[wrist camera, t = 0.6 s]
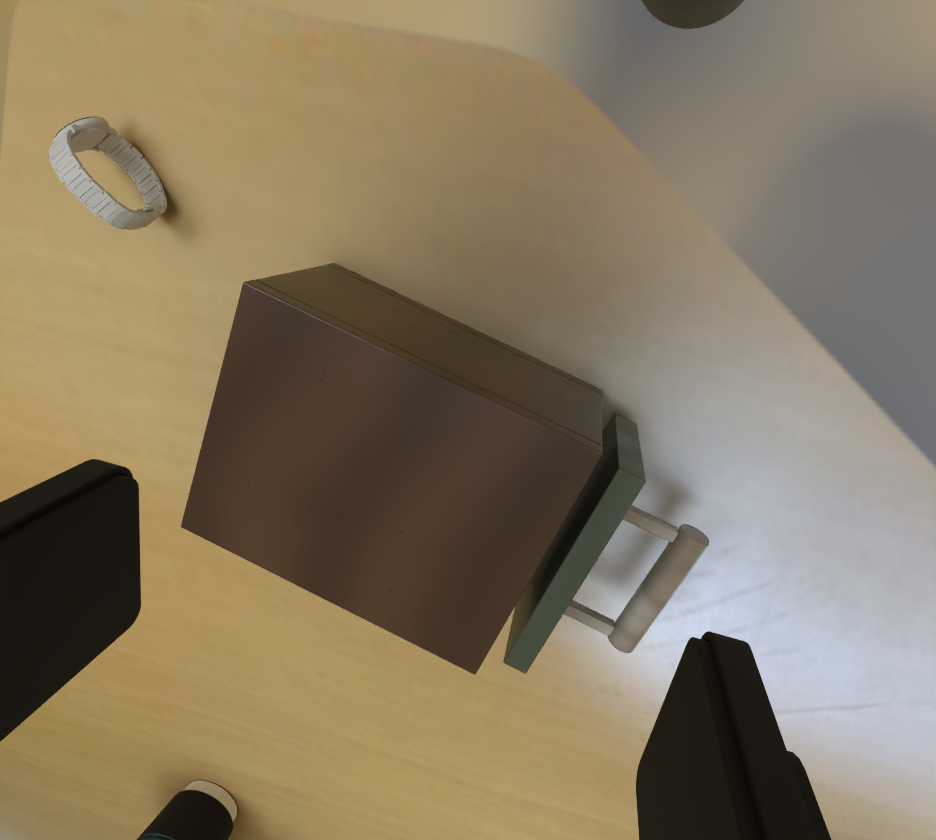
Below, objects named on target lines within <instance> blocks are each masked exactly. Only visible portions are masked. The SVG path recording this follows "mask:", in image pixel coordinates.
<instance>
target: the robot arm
mask: <svg viewBox="0 0 936 840" xmlns="http://www.w3.org/2000/svg"><path fill="white" fill-rule="evenodd" d="M140 607H141V587H140V534H139V488H138V483H137V481H136V480H135V479H133V476H132V473H131V472H130V470H129V469H127V468H126V467H122V466H119V465H115V464H112V463H108V462H105V461H101V460H96V459H91V460H88V461H85V462H83V463H81V464H79V465H77V466H75V467H73V468H71V469H69V470H67V471H65V472H63V473H61V474H58V475H56V476H54V477H52V478H50V479H48V480H46V481H44V482H42V483H40V484H38V485H36V486H34V487H31V488H29V489H27V490H25V491H23V492H21V493H19V494H17V495H15V496H13V497H11V498H9V499H7V500H4V501H2V502H0V741H2V740H3V739H4V738H5V737H6V736H7V735H8V734H9V733H11V732H12V731H13V730H14V729H15V728H16V727H17V726H19V725H20V724H21V723H22V722H23V721H24V720H25V719H26V718H28V717H29V716H30V715H31V714H32V713H33V712H34V711H36V710H37V709H38V708H39V707H40V706H41V705H42V704H43V703H45V702H46V701H47V700H48V699H49V698H50V697H51V696H53V695H54V694H55V693H56V692H57V691H58V690H59V689H61V688H62V687H63V686H64V685H65V684H66V683H67V682H68V681H70V680H71V679H72V678H73V677H74V676H75V675H76V674H78V673H79V672H80V671H81V670H82V669H83V668H84V667H85V666H87V665H88V664H89V663H90V662H91V661H92V660H93V659H95V658H96V657H97V656H98V655H99V654H100V653H101V652H102V651H104V650H105V649H106V648H107V647H108V646H109V645H110V644H112V643H113V642H114V641H115V640H116V639H117V638H118V637H119V636H121V635H122V634H123V633H124V632H125V631H126V630H127V629H129V628H130V626H131V625H132V624H133V623H134V622H135V620H136V618H137V616H138V614H139V611H140ZM636 796H637V811H638V826H639V840H831V838H830V835H829V832H828V830H827V827H826V824H825V822H824V819H823V816H822V814H821V811H820V808H819V806H818V803H817V800H816V798H815V795H814V792H813V790H812V787H811V784H810V781H809V779H808V776H807V773H806V771H805V769H804V767H803V765H802V763H801V761H800V759H799V758H798V757H797V756H796V755H795V754H794V753H793V752H790V751H787V750H786V747H785V744H784V741H783V739H782V736H781V733H780V730H779V727H778V724H777V722H776V719H775V716H774V713H773V710H772V707H771V705H770V702H769V699H768V696H767V693H766V690H765V687H764V685H763V682H762V679H761V676H760V673H759V670H758V668H757V665H756V662H755V659H754V656H753V653H752V651H751V648H750V646H749V644H748V643H746V642H745V641H741V640H737V639H734V638H730V637H727V636H723V635H720V634H716V633H713V632H706V633H705V634H704V635H703V636H702V638H701V639H698V638H694V637H692V638H690V639H689V641H688V643H687V645H686V647H685V650H684V652H683V655H682V657H681V660H680V662H679V665H678V667H677V670H676V672H675V675H674V677H673V680H672V682H671V685H670V687H669V690H668V692H667V695H666V697H665V700H664V702H663V705H662V707H661V710H660V712H659V715H658V717H657V720H656V722H655V725H654V727H653V730H652V732H651V735H650V737H649V740H648V742H647V745H646V747H645V750H644V752H643V755H642V757H641V760H640V763H639V766H638V771H637V778H636Z"/></svg>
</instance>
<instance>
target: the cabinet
mask: <svg viewBox="0 0 936 840" xmlns="http://www.w3.org/2000/svg"><path fill="white" fill-rule="evenodd" d="M602 454H603V449H602V390H601V389H599V388H597V387H595V386H592V385H590V384H588V383H586V382H584V381H582V380H580V379H578V378H576V377H573V376H571V375H569V374H567V373H565V372H563V371H561V370H559V369H557V368H554V367H552V366H550V365H548V364H546V363H544V362H542V361H540V360H538V359H535V358H533V357H531V356H529V355H527V354H525V353H523V352H521V351H519V350H516V349H514V348H512V347H510V346H508V345H506V344H504V343H502V342H499V341H497V340H495V339H493V338H491V337H489V336H487V335H485V334H483V333H480V332H478V331H476V330H474V329H472V328H470V327H468V326H466V325H464V324H461V323H459V322H457V321H455V320H453V319H451V318H449V317H447V316H445V315H442V314H440V313H438V312H436V311H434V310H432V309H430V308H428V307H426V306H423V305H421V304H419V303H417V302H415V301H413V300H411V299H409V298H406V297H404V296H402V295H400V294H398V293H396V292H394V291H392V290H390V289H387V288H385V287H383V286H381V285H379V284H377V283H375V282H373V281H371V280H368V279H366V278H364V277H362V276H360V275H358V274H356V273H354V272H352V271H349V270H347V269H345V268H343V267H341V266H339V265H337V264H335V263H331V264H327V265H323V266H319V267H314V268H309V269H304V270H300V271H295V272H290V273H285V274H281V275H276V276H271V277H266V278H262V279H257V280H251V281H246V282H244V283H243V286H242V290H241V294H240V298H239V301H238V305H237V309H236V313H235V317H234V321H233V325H232V329H231V333H230V337H229V340H228V344H227V348H226V352H225V356H224V360H223V364H222V368H221V372H220V376H219V380H218V383H217V387H216V391H215V395H214V399H213V403H212V407H211V411H210V415H209V419H208V422H207V426H206V430H205V434H204V438H203V442H202V446H201V450H200V454H199V458H198V462H197V465H196V469H195V473H194V477H193V481H192V485H191V489H190V493H189V497H188V501H187V505H186V508H185V512H184V516H183V520H182V524H181V527H182V528H184V529H186V530H188V531H190V532H192V533H194V534H196V535H198V536H200V537H202V538H204V539H206V540H208V541H210V542H212V543H214V544H216V545H218V546H220V547H222V548H224V549H226V550H228V551H230V552H232V553H234V554H236V555H238V556H240V557H242V558H244V559H246V560H248V561H250V562H252V563H254V564H256V565H258V566H260V567H262V568H264V569H266V570H268V571H270V572H272V573H274V574H276V575H278V576H280V577H282V578H283V579H285V580H287V581H289V582H291V583H293V584H295V585H297V586H299V587H301V588H303V589H305V590H307V591H309V592H311V593H313V594H315V595H317V596H319V597H321V598H323V599H325V600H327V601H329V602H331V603H333V604H335V605H337V606H339V607H341V608H343V609H345V610H347V611H349V612H351V613H353V614H355V615H357V616H359V617H361V618H363V619H365V620H367V621H369V622H371V623H373V624H375V625H377V626H379V627H381V628H383V629H385V630H387V631H389V632H391V633H393V634H395V635H397V636H399V637H401V638H403V639H405V640H407V641H409V642H411V643H413V644H415V645H417V646H419V647H421V648H423V649H425V650H427V651H429V652H431V653H433V654H435V655H437V656H439V657H441V658H443V659H445V660H447V661H449V662H450V663H452V664H454V665H456V666H458V667H460V668H462V669H464V670H466V671H468V672H470V673H472V674H476V673H477V671H478V669H479V668H480V666H481V664H482V662H483V661H484V659H485V657H486V655H487V654H488V652H489V650H490V648H491V647H492V645H493V643H494V642H495V640H496V638H497V636H498V635H499V633H500V631H501V629H502V628H503V626H504V624H505V623H506V621H507V619H508V617H509V616H510V614H511V612H512V610H513V609H514V607H515V605H516V603H517V602H518V600H519V598H520V597H521V595H522V593H523V591H524V590H525V588H526V586H527V584H528V583H529V581H530V579H531V577H532V576H533V574H534V572H535V571H536V569H537V567H538V565H539V564H540V562H541V560H542V558H543V557H544V555H545V553H546V551H547V550H548V548H549V546H550V545H551V543H552V541H553V539H554V538H555V536H556V534H557V532H558V531H559V529H560V527H561V525H562V524H563V522H564V520H565V519H566V517H567V515H568V513H569V512H570V510H571V508H572V506H573V505H574V503H575V501H576V499H577V498H578V496H579V494H580V493H581V491H582V489H583V487H584V486H585V484H586V482H587V480H588V479H589V477H590V475H591V473H592V472H593V470H594V468H595V467H596V465H597V463H598V461H599V460H600V458H601V456H602Z"/></svg>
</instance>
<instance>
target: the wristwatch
mask: <svg viewBox="0 0 936 840" xmlns="http://www.w3.org/2000/svg"><path fill="white" fill-rule="evenodd" d="M131 147H132V145H131V144H130V143H129V142H128V141H126V140H125V139H124V138H122V137H120V136H119V135H118V133H117V132H116V130H115V129H113V128H111V127H109V124H108V122H107V121H106V120H105V119H104V118H100V117H86V118H82V119H79V120H76V121H74V122H72V123H70V124H68V125H67V126H65V127H64V128H62V129H61V130H60V131H59V132H58V133H57V135H56V136H55V139H54V143H52V144H51V149H50V152H49V157H50V162H51V164H52V166H53V169H54V170H56V174H57V175H58V177H59V178H60V180H61V181H62V182H63V183H64V185H65V186H66V188H67V189H68V190H69V191H70V192H71V193H72V194H73V195H76V196H75V197H76V199H78V200H79V201H80V202H81V203H82V204H83V205H85V206H86V207H87V206H88V205H89V206H88V209H89V210H90V211H91V212H93V213H94V214H95V215H96V216H97V217H100V219H101V220H103V221H104V222H105V223H107V224H109V225H111V226H114V227H116V228H119V229H128V230H133V229H139V228H142V227H146V226H147V225H149V224H150V223H151V222H152V221H154V220H155V219H156V218H157V217H159V216H160V215H161V214H162V213H164V212H165V211H166V209H167V202H166V200H167V199H166V195H165V192H164V189H163V186H162V184H161V182H160V181H159V177H158V176H157V174H156V172H155V171H154V169H152V166H151V165H150V163H149V162H148V161H147V159H146V158H145V157H143V155H142V154H141V153H140V152H139V151H138V150H137V149H136V148H135V147H132V148H131ZM85 150H94V151H97V152H99V151H102V152H105V154H106V155H107V156H109V157H110V158H111V159H113V160H114V161H116V160H117V161H116V162H117V163H118V164H119V165H120V166H121V167H122V168H123V169H124V170H125V171H127V170H128V171H127V173H128V174H129V176H130V177H131V178H132V179H133V181H134V182H136V183H135V184H136V185H137V187H138V189H139V191H140V192H141V193H142V194H141V195H142V197H143V200H144V202H145V203H146V204H145V206H146V207H144V208H143V209H139V210H137V211H134V210H131V209H129V208H127V207H125V206H124V205H122V204H121V203H119V202H118V203H117V200H116V199H115V198H114V197H113V196H112V195H111V194H109V193H108V192H107V191H106V192H105V189H104V188H103V187H102V186H100V185H99V184H98V183H97V182H96V181H95V180H93V178H92V177H91V175H90V174H89V173H88V172H87V171H86V169H85V168H83V165H82V164H81V162H80V161H79V159H78V158H77V156H76V155H75V152H82V151H85ZM136 156H137V157H136ZM135 157H136V158H135ZM142 157H143V158H142ZM134 158H135V159H134ZM143 162H144V163H143ZM128 163H129V164H128ZM142 163H143V164H142ZM127 164H128V165H127ZM126 165H127V166H126ZM135 169H136V170H135ZM91 180H93V181H91ZM88 190H89V191H88ZM98 190H99V191H98ZM87 191H88V192H87ZM91 196H92V197H91ZM104 198H105V199H104ZM103 199H104V200H103ZM102 200H103V201H102ZM97 204H98V205H97ZM96 205H97V206H96ZM95 206H96V207H95Z"/></svg>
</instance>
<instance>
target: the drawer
mask: <svg viewBox="0 0 936 840" xmlns="http://www.w3.org/2000/svg"><path fill="white" fill-rule="evenodd" d="M602 449H603V454H602V456H601V458H600V460H599V461H598V463H597V465H596V467H595V468H594V470H593V472H592V473H591V475H590V477H589V479H588V480H587V482H586V484H585V486H584V487H583V489H582V491H581V493H580V494H579V496H578V498H577V499H576V501H575V503H574V505H573V506H572V508H571V510H570V512H569V513H568V515H567V517H566V519H565V520H564V522H563V524H562V525H561V527H560V529H559V531H558V532H557V534H556V536H555V538H554V539H553V541H552V543H551V545H550V546H549V548H548V550H547V551H546V553H545V555H544V557H543V558H542V560H541V562H540V564H539V565H538V567H537V569H536V571H535V572H534V574H533V576H532V577H531V579H530V581H529V583H528V584H527V586H526V588H525V590H524V591H523V593H522V595H521V597H520V598H519V600H518V602H517V603H516V605H515V610H514V615H513V619H512V624H511V629H510V633H509V638H508V643H507V647H506V652H505V657H504V661H503V662H504V663H505V664H507V665H509V666H511V667H513V668H515V669H517V670H519V671H521V672H523V673H527V671H528V669H529V668H530V666H531V665H532V663H533V661H534V660H535V658H536V657H537V655H538V653H539V652H540V650H541V649H542V647H543V645H544V644H545V642H546V641H547V639H548V637H549V636H550V634H551V633H552V631H553V629H554V628H555V626H556V625H557V623H558V621H559V620H560V618H561V617H562V615H563V614H565V615H567V616H569V617H571V618H573V619H575V620H577V621H579V622H581V623H583V624H585V625H587V626H589V627H591V628H593V629H595V630H597V631H600V632H602V633H604V634H606V635H608V639H609V641H610V643H611V644H612V645H613V646H614V647H615V648H616V649H618V650H619V651H621V652H624V653H630V652H632V651H633V650H634V648H635V647H636V646H637V644H638V643H639V641H640V640H641V639H642V637H643V636H644V634H645V633H646V632H647V630H648V629H649V627H650V626H651V625H652V623H653V622H654V620H655V619H656V618H657V616H658V615H659V613H660V612H661V611H662V609H663V608H664V606H665V605H666V604H667V602H668V601H669V599H670V598H671V597H672V595H673V594H674V592H675V591H676V590H677V588H678V587H679V585H680V584H681V583H682V581H683V580H684V578H685V577H686V576H687V574H688V573H689V571H690V570H691V569H692V567H693V566H694V564H695V563H696V561H697V560H698V559H699V557H700V556H701V554H702V553H703V552H704V550H705V549H706V547H707V546H708V545H709V540H708V538H707V537H706V536H705V535H704V534H703V533H702V532H701V531H700V530H698V529H697V528H695V527H693V526H690V525H687V524H682V525H681V526H680V527H679V529H678V528H677V527H676V526H673V525H671V524H669V523H667V522H665V521H663V520H661V519H659V518H657V517H655V516H653V515H651V514H649V513H646V512H644V511H642V510H640V509H638V508H636V507H634V506H632V503H633V501H634V500H635V498H636V497H637V495H638V493H639V492H640V490H641V489H642V487H643V485H644V484H645V482H646V480H645V474H644V467H643V461H642V455H641V449H640V443H639V437H638V431H637V425H636V424H635V423H633V422H631V421H629V420H626V419H624V418H622V417H620V416H618V415H614V417H613V419H612V421H611V422H610V424H609V426H608V428H607V429H606V431H605V433H604V435H603V436H602ZM622 519H624V520H626V521H628V522H630V523H632V524H634V525H636V526H638V527H640V528H642V529H644V530H647V531H649V532H651V533H653V534H655V535H657V536H659V537H661V538H663V539H665V540H667V541H669V543H668V545H667V546H666V548H665V549H664V551H663V552H662V554H661V555H660V557H659V558H658V560H657V561H656V563H655V564H654V566H653V567H652V568H651V570H650V571H649V573H648V574H647V576H646V577H645V579H644V580H643V582H642V583H641V585H640V586H639V588H638V589H637V591H636V592H635V594H634V595H633V596H632V598H631V599H630V601H629V602H628V604H627V605H626V607H625V608H624V610H623V611H622V613H621V614H620V616H619V617H618V619H617V620H616V622H615V623H614V620H612V619H610V618H608V617H606V616H604V615H602V614H600V613H598V612H596V611H594V610H592V609H590V608H588V607H586V606H584V605H582V604H580V603H577V602H575V601H573V600H572V599H573V597H574V596H575V594H576V593H577V591H578V589H579V588H580V586H581V585H582V583H583V581H584V580H585V578H586V577H587V575H588V573H589V572H590V570H591V569H592V567H593V565H594V564H595V562H596V561H597V559H598V557H599V556H600V554H601V553H602V551H603V549H604V548H605V546H606V545H607V543H608V541H609V540H610V538H611V537H612V535H613V533H614V532H615V530H616V529H617V527H618V525H619V524H620V522H621V521H622Z"/></svg>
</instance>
